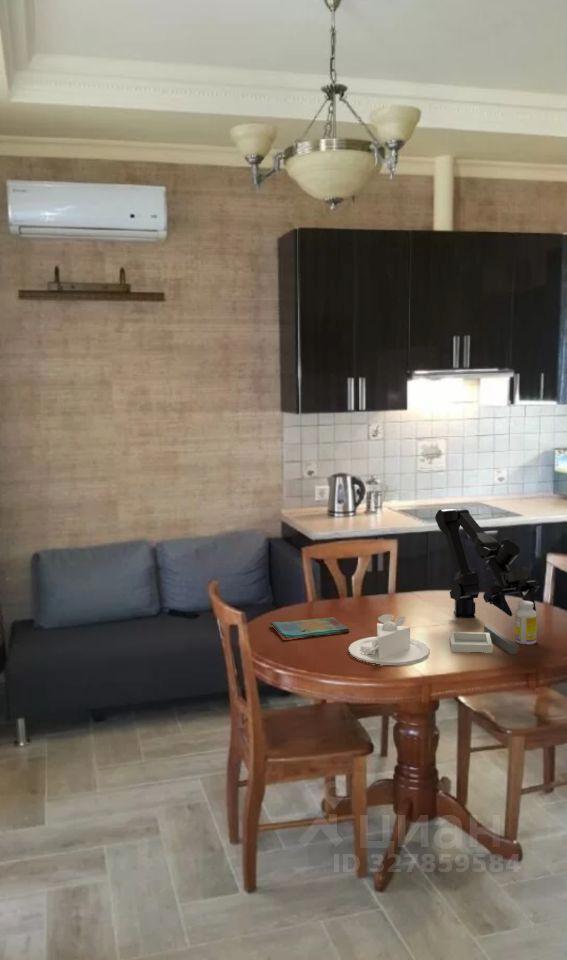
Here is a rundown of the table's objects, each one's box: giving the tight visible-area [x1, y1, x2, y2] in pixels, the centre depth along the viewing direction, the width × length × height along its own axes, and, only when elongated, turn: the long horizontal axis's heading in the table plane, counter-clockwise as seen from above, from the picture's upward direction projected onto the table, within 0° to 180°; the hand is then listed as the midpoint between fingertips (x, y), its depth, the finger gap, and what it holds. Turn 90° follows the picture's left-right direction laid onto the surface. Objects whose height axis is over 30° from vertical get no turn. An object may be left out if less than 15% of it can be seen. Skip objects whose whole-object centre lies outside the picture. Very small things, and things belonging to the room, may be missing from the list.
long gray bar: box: [483, 624, 518, 655], centre depth 252 cm, size 20×2×3 cm, turn 9°
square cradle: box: [449, 631, 494, 654], centre depth 250 cm, size 12×12×2 cm
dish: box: [348, 613, 430, 667], centre depth 247 cm, size 25×25×11 cm
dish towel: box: [270, 616, 351, 638], centre depth 271 cm, size 17×23×2 cm
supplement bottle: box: [514, 600, 538, 646], centre depth 252 cm, size 7×7×13 cm
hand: (523, 613), depth 253 cm, fingers open, 9 cm apart
